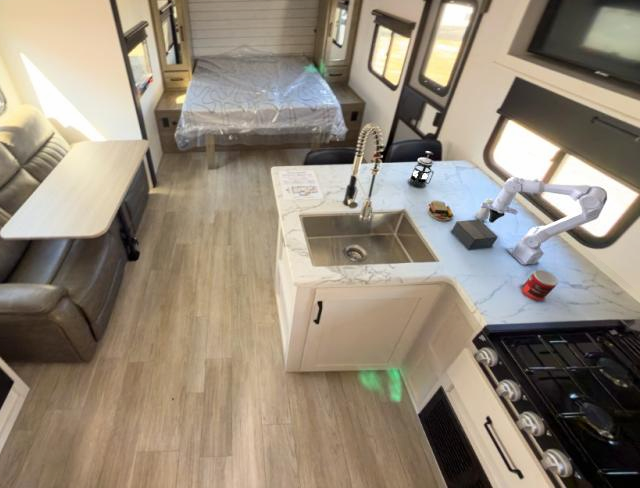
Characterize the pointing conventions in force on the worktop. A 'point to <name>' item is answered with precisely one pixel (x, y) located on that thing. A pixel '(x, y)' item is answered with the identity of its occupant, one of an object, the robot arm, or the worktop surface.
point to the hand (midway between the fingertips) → (490, 221)
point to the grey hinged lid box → (475, 243)
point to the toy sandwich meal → (440, 211)
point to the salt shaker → (483, 211)
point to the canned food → (539, 285)
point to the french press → (422, 172)
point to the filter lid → (471, 230)
